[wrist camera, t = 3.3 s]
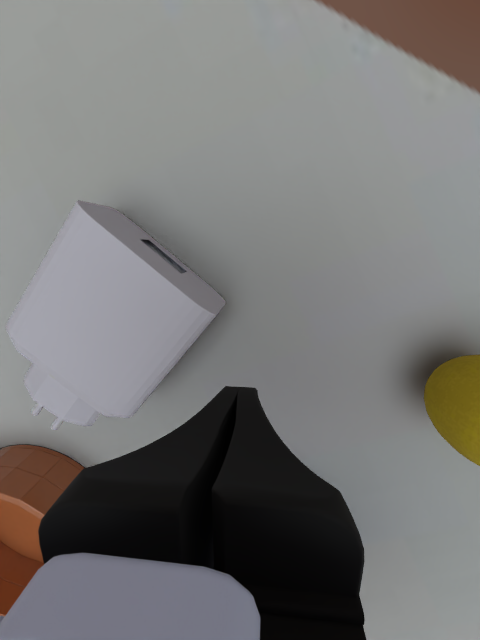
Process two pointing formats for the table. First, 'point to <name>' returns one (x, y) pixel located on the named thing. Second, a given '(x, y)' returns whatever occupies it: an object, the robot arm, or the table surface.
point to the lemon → (456, 404)
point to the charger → (106, 317)
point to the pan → (26, 511)
